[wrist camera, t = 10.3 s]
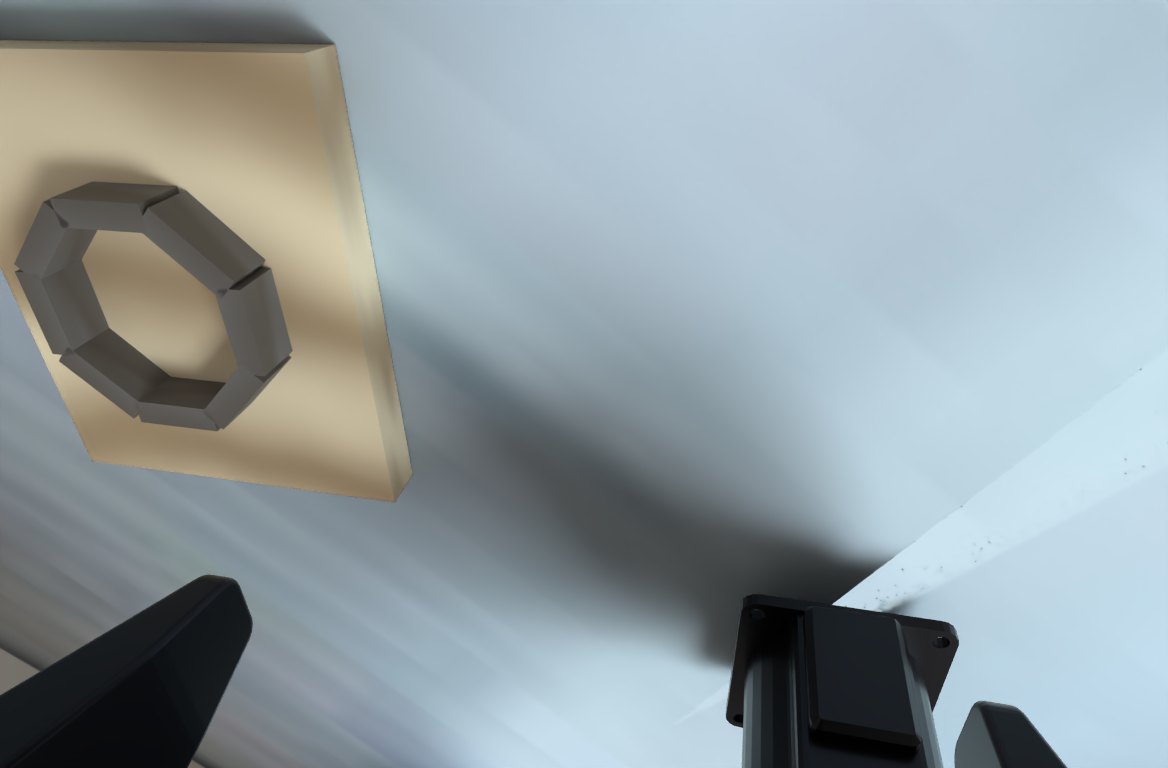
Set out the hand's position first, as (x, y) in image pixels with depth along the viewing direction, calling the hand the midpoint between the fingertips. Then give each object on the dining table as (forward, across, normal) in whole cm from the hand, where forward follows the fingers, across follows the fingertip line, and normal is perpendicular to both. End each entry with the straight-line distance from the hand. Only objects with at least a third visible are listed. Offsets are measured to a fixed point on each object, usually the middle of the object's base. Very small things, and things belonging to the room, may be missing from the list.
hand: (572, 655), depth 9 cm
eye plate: (+13, +15, +2) cm, 20 cm away
